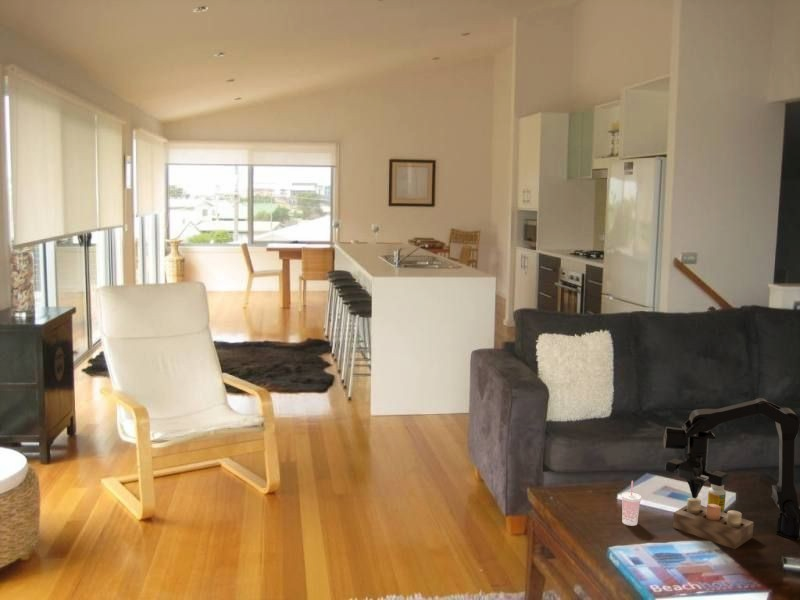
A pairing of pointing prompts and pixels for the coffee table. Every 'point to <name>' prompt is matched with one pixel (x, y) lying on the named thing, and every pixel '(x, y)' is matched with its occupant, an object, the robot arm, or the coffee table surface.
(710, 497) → the supplement bottle
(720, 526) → the wooden compartment tray
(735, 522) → the maple plug near
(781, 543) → the coffee table surface
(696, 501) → the maple plug far
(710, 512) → the terracotta plug
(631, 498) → the beverage cup
